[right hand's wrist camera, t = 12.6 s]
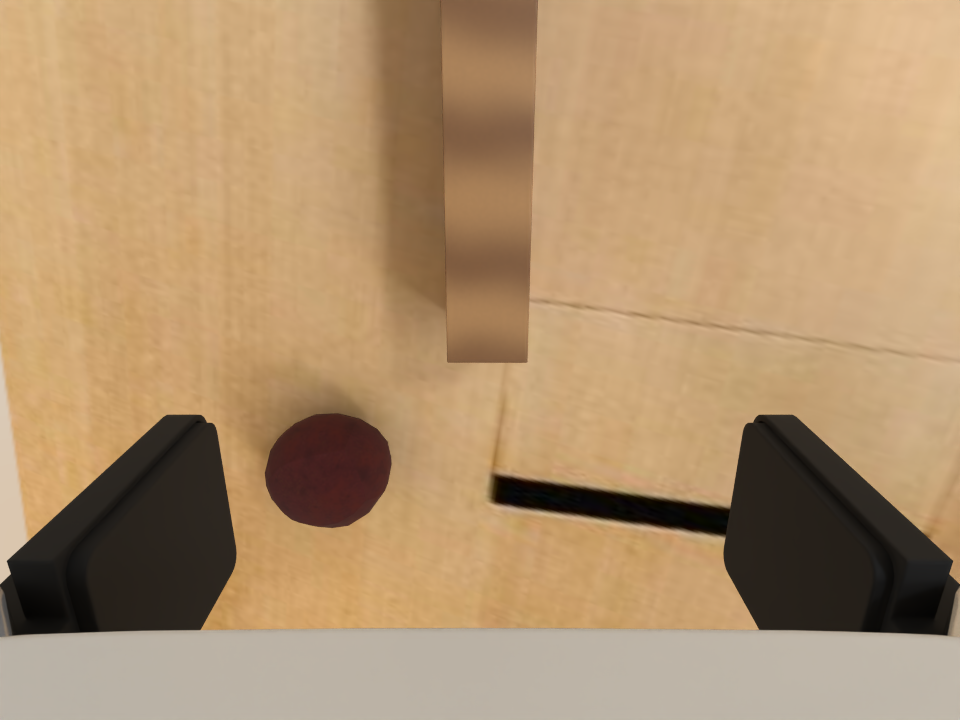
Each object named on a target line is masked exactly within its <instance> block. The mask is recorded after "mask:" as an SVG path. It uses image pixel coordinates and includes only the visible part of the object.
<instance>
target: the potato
mask: <svg viewBox="0 0 960 720" xmlns="http://www.w3.org/2000/svg"><path fill="white" fill-rule="evenodd" d="M390 469H391V455H390V451H389V446H388V442H387V441H386V439H385V438H384V437H383V436H382V434H381V433H380V432H379V431H378V429H376V428H374V427H373V426H371V425H369V424H368V423H366V422H364V421H362V420H361V419H358V418H354V417H350V416H346V415H342V414H338V413H336V414H316V415H313V416H311V417H308V418H306V419H304V420H302V421H300V422H298V423H295V424H294V425H293V426H292V427H290V428H289V429H288V430H287V431H286V432H284V433H283V434H282V435H281V436H280V437H279V439H278V440H277V441H276V443H275V444H274V446H273V448H272V449H271V451H270V455H269V459H268V463H267V467H266V471H265V478H266V486H267V489H268V491H269V494H270V496H271V498H272V500H273V501H274V502H275V503H276V505H277V506H278V507H279V508H280V510H281V511H282V512H283V513H284V514H285V515H287V516H288V517H289V518H290V519H292V520H294V521H297V522H299V523H303V524H308V525H312V526H317V527H328V528H335V527H342V526H348V525H350V524H352V523H353V522H355V521H357V520H358V519H360V518H361V517H363V516H365V515H366V514H367V513H369V512H370V510H371V509H372V508H373V506H374V505H375V504H376V502H377V501H378V499H379V498H380V497H381V495H382V494H383V493H384V491H385V489H386V486H387V484H388V480H389V474H390Z"/></svg>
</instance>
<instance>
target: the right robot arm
mask: <svg viewBox="0 0 960 720" xmlns="http://www.w3.org/2000/svg"><path fill="white" fill-rule="evenodd" d="M7 563H8V566H9V569H10V572H11V575H10V576H9V577H7V578H6V579H5V580H4V581H3V582H2V583H1V584H0V720H960V584H959V583H958V582H957V581H956V580H955V579H954V578H953V577H951V576H950V575H949V572H950V569H951V566H952V563H953V560H951V559H950V558H949V557H948V556H947V555H946V554H945V553H944V552H943V551H942V550H941V549H940V548H938V547H937V546H936V545H935V544H934V543H933V542H932V541H931V540H930V539H929V538H928V537H926V536H925V535H924V534H923V533H922V532H921V531H920V530H919V529H918V528H917V527H916V526H914V525H913V524H912V523H911V522H910V521H909V520H908V519H907V518H906V517H905V516H904V515H903V514H901V513H900V512H899V511H898V510H897V509H896V508H895V507H894V506H893V505H892V504H891V503H889V502H888V501H887V500H886V499H885V498H884V497H883V496H882V495H881V494H880V493H879V492H877V491H876V490H875V489H874V488H873V487H872V486H871V485H870V484H869V483H868V482H867V481H866V480H864V479H863V478H862V477H861V476H860V475H859V474H858V473H857V472H856V471H855V470H854V469H852V468H851V467H850V466H849V465H848V464H847V463H846V462H845V461H844V460H843V459H842V458H840V457H839V456H838V455H837V454H836V453H835V452H834V451H833V450H832V449H831V448H830V447H829V446H827V445H826V444H825V443H824V442H823V441H822V440H821V439H820V438H819V437H818V436H817V435H815V434H814V433H813V432H812V431H811V430H810V429H809V428H808V427H807V426H806V425H805V424H803V423H802V422H801V421H800V420H799V419H798V418H797V417H796V416H794V415H758V416H757V417H756V418H755V420H754V422H753V423H747V424H746V425H745V427H744V430H743V435H742V441H741V447H740V453H739V459H738V465H737V472H736V478H735V484H734V490H733V496H732V502H731V508H730V514H729V520H728V526H727V533H726V539H725V545H724V563H725V567H726V570H727V572H728V574H729V576H730V578H731V579H732V581H733V583H734V585H735V587H736V588H737V590H738V592H739V594H740V596H741V597H742V599H743V601H744V603H745V605H746V606H747V608H748V610H749V612H750V614H751V615H752V617H753V619H754V621H755V623H756V624H757V626H758V628H759V630H696V629H585V628H350V629H261V630H201V628H202V626H203V624H204V623H205V621H206V619H207V617H208V615H209V614H210V612H211V610H212V608H213V606H214V605H215V603H216V601H217V599H218V597H219V596H220V594H221V592H222V590H223V588H224V587H225V585H226V583H227V581H228V579H229V578H230V576H231V574H232V572H233V570H234V567H235V563H236V545H235V539H234V533H233V527H232V520H231V514H230V508H229V502H228V496H227V490H226V484H225V478H224V472H223V465H222V459H221V453H220V447H219V441H218V435H217V430H216V427H215V425H214V424H213V423H207V422H206V420H205V418H204V417H203V416H202V415H166V416H164V417H163V418H162V419H161V420H160V421H159V422H158V423H157V424H155V425H154V426H153V427H152V428H151V429H150V430H149V431H148V432H147V433H146V434H145V435H143V436H142V437H141V438H140V439H139V440H138V441H137V442H136V443H135V444H134V445H133V446H131V447H130V448H129V449H128V450H127V451H126V452H125V453H124V454H123V455H122V456H121V457H120V458H118V459H117V460H116V461H115V462H114V463H113V464H112V465H111V466H110V467H109V468H108V469H106V470H105V471H104V472H103V473H102V474H101V475H100V476H99V477H98V478H97V479H96V480H94V481H93V482H92V483H91V484H90V485H89V486H88V487H87V488H86V489H85V490H84V491H83V492H81V493H80V494H79V495H78V496H77V497H76V498H75V499H74V500H73V501H72V502H71V503H69V504H68V505H67V506H66V507H65V508H64V509H63V510H62V511H61V512H60V513H59V514H57V515H56V516H55V517H54V518H53V519H52V520H51V521H50V522H49V523H48V524H47V525H46V526H44V527H43V528H42V529H41V530H40V531H39V532H38V533H37V534H36V535H35V536H34V537H32V538H31V539H30V540H29V541H28V542H27V543H26V544H25V545H24V546H23V547H22V548H20V549H19V550H18V551H17V552H16V553H15V554H14V555H13V556H12V557H11V558H10V559H9V560H7Z"/></svg>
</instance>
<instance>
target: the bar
mask: <svg viewBox="0 0 960 720" xmlns="http://www.w3.org/2000/svg"><path fill="white" fill-rule="evenodd" d="M537 8H538V0H441V49H442V103H443V156H444V209H445V263H446V316H447V362H449V363H526V362H527V355H528V321H529V286H530V251H531V216H532V182H533V147H534V112H535V77H536V43H537Z"/></svg>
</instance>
